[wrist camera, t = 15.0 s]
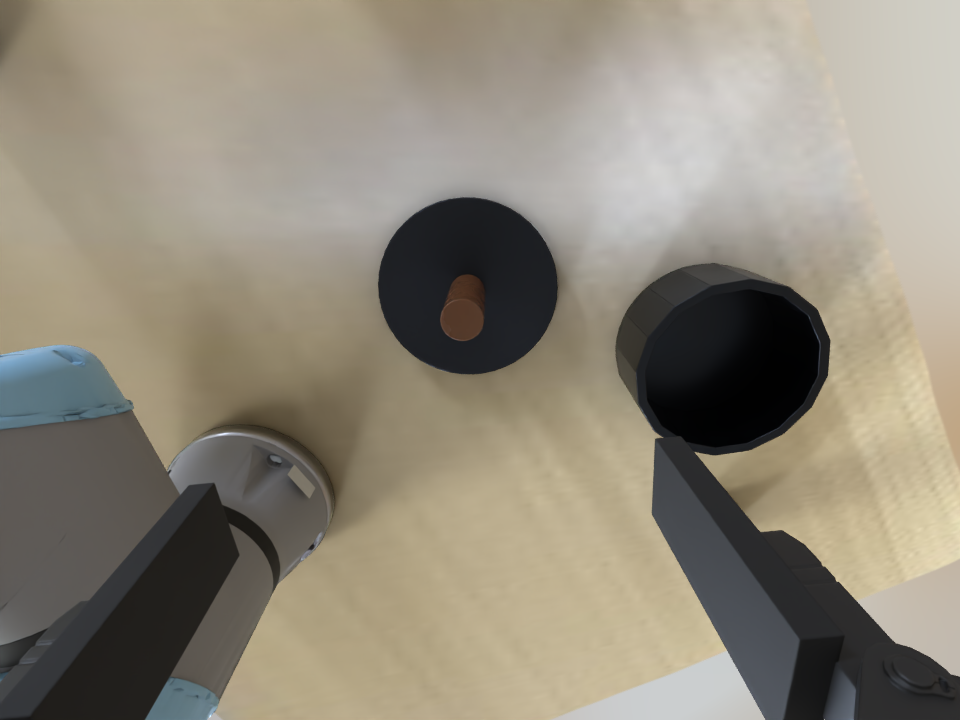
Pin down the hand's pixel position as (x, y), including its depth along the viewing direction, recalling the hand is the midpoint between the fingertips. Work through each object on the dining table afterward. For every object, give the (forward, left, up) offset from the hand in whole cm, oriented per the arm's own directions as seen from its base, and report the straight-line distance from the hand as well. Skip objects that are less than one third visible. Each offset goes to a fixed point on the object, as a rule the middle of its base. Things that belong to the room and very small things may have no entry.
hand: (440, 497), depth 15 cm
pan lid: (0, 0, -26) cm, 26 cm away
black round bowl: (+18, -8, -27) cm, 33 cm away
